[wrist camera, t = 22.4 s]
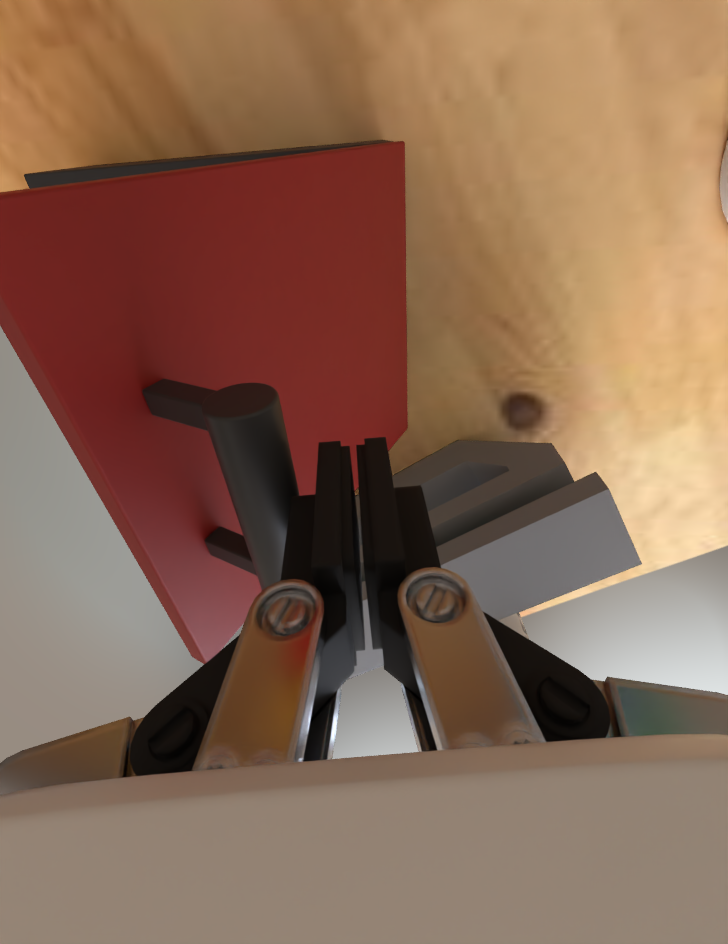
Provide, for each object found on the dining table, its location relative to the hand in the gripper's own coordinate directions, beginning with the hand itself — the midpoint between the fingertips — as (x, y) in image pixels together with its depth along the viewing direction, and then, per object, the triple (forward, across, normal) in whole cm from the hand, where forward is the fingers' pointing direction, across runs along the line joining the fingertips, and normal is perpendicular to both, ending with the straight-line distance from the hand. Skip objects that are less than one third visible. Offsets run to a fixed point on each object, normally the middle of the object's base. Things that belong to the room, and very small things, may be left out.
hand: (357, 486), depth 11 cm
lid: (+7, +2, 0) cm, 7 cm away
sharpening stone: (+20, -5, +19) cm, 28 cm away
